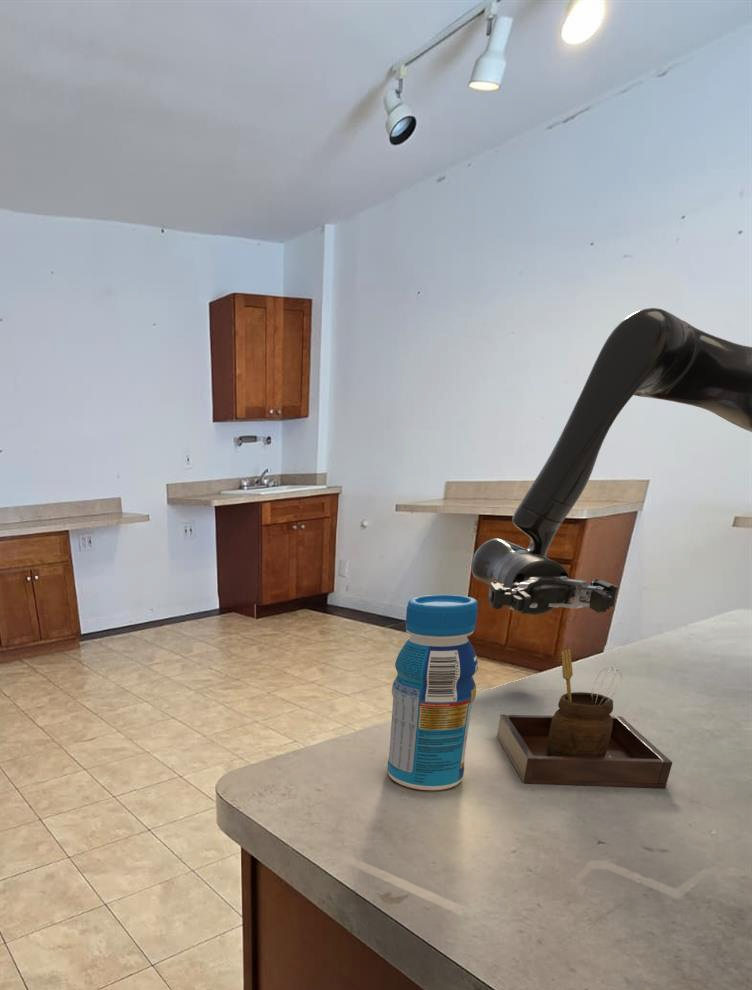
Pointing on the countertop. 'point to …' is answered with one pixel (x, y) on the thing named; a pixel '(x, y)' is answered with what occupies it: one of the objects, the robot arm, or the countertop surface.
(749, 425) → the robot arm
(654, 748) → the tray box
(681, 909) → the countertop surface
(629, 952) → the countertop surface
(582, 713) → the utensil holder
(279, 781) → the countertop surface
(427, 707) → the beverage bottle
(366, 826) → the countertop surface
